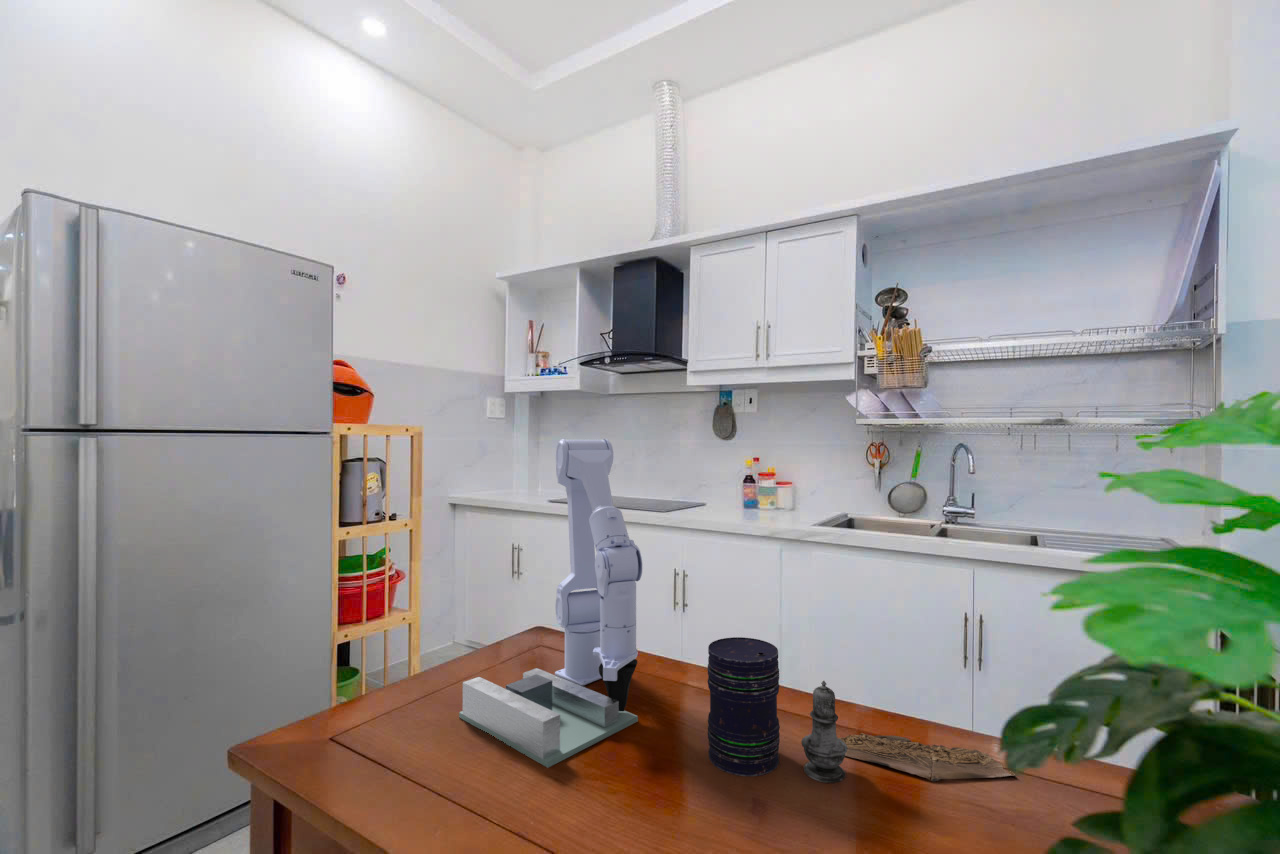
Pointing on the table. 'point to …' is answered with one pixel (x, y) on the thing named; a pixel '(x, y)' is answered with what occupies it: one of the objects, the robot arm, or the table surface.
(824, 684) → the salt shaker
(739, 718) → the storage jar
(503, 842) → the table surface
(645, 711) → the table surface
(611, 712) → the bar
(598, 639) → the robot arm
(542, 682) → the steel block
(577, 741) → the vise base
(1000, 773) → the wooden fragment
